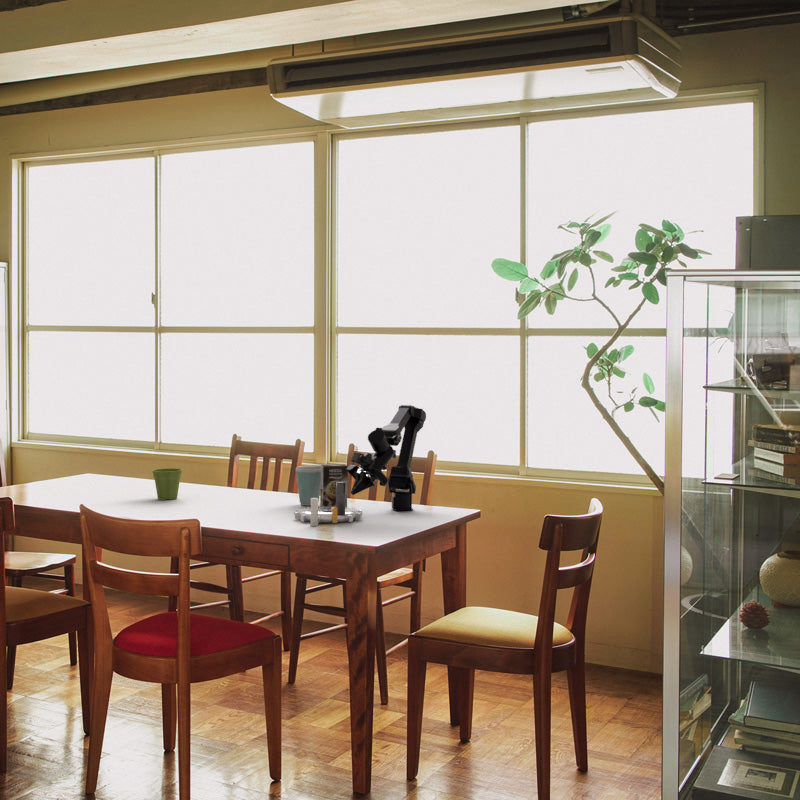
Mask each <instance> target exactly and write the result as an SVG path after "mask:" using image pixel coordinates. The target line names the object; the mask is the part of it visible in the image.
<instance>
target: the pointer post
mask: <svg viewBox="0 0 800 800" xmlns="http://www.w3.org/2000/svg"><path fill="white" fill-rule="evenodd" d="M310 507H311V521H310V527H318V526H319V523H318V507H319V502H318V498H311V506H310Z"/></svg>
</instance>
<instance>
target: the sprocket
mask: <svg viewBox="0 0 800 800" xmlns="http://www.w3.org/2000/svg"><path fill="white" fill-rule="evenodd" d="M362 517H363V510H362V509H356V507H347V508H346V507H345V482H336V507H325V506H320V505H319V506H318V524H320V523H332V524H338V523H342V522H344V523H345V522H347V523H348V522H349V523H351V522H354V520H361V519H362ZM294 519H295V520H298V519H299V520H300V522H302V523H303V522H311V506H305V507H304V508H303V509H300V508H299V509H295V511H294Z"/></svg>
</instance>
